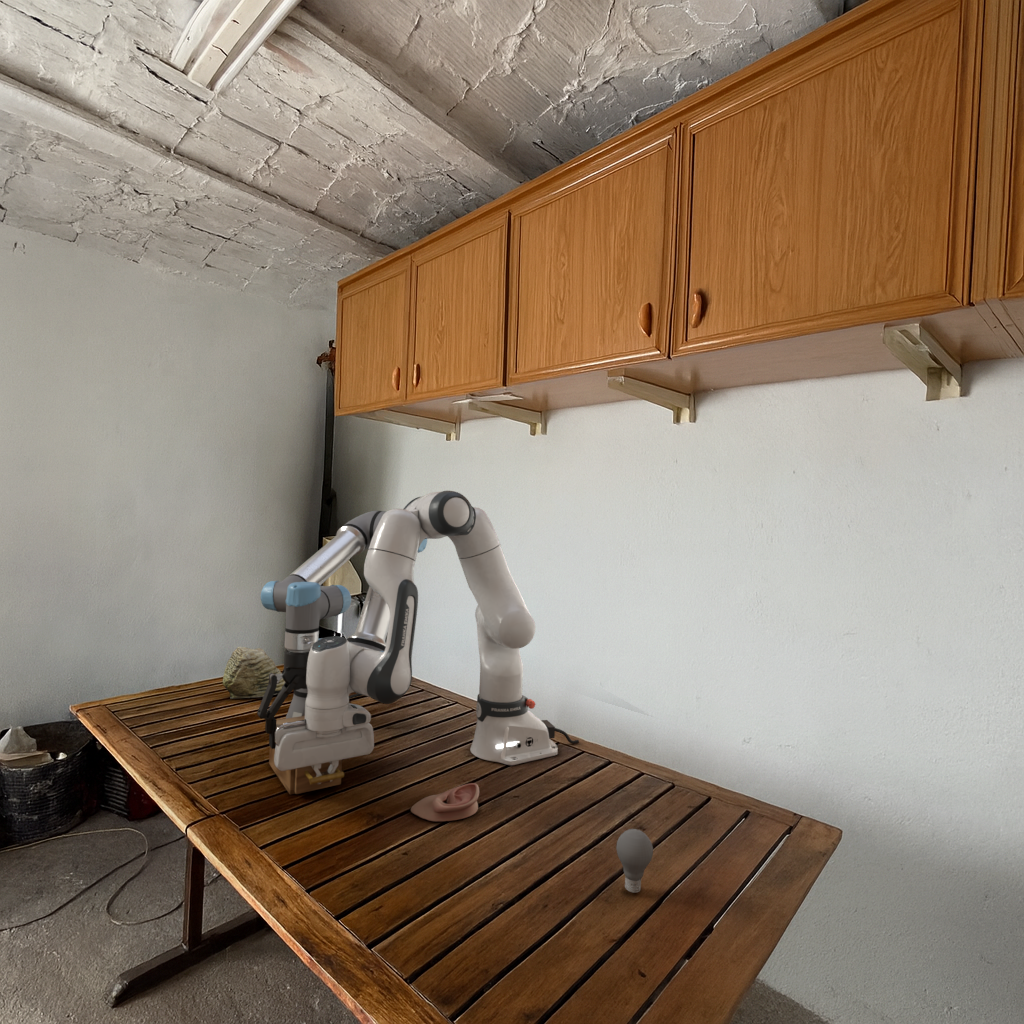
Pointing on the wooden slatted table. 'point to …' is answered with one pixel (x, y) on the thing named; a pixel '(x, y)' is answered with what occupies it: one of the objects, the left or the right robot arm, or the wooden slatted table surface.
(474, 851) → the wooden slatted table surface
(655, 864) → the wooden slatted table surface
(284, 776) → the cabinet
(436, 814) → the anatomical model
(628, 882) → the light bulb
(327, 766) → the drawer
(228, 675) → the fossil
